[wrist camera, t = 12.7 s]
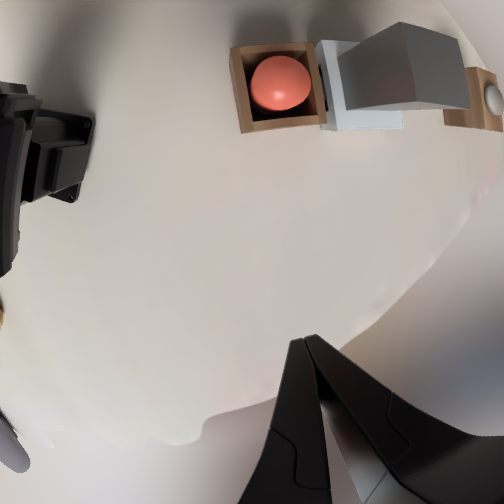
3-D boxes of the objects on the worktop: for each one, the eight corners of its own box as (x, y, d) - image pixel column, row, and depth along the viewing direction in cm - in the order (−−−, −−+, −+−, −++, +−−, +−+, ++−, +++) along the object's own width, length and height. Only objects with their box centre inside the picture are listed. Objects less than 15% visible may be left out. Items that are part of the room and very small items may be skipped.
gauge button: (251, 117, 16) (258, 111, 13) (244, 75, 15) (249, 58, 11) (296, 112, 16) (315, 105, 13) (289, 70, 15) (305, 54, 11)
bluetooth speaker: (-25, 389, 28) (-42, 420, 18) (3, 408, 29) (-13, 442, 20) (10, 438, 36) (0, 464, 27) (36, 452, 37) (27, 480, 28)
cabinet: (241, 133, 17) (244, 132, 14) (229, 65, 15) (230, 48, 12) (307, 125, 17) (327, 123, 14) (296, 59, 15) (312, 42, 12)
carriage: (321, 131, 17) (406, 132, 8) (307, 52, 15) (376, -7, 6) (381, 128, 18) (481, 137, 8) (369, 55, 15) (459, 21, 6)
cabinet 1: (444, 125, 18) (490, 129, 12) (437, 71, 16) (481, 66, 10) (464, 127, 18) (508, 133, 13) (458, 76, 16) (500, 74, 10)
